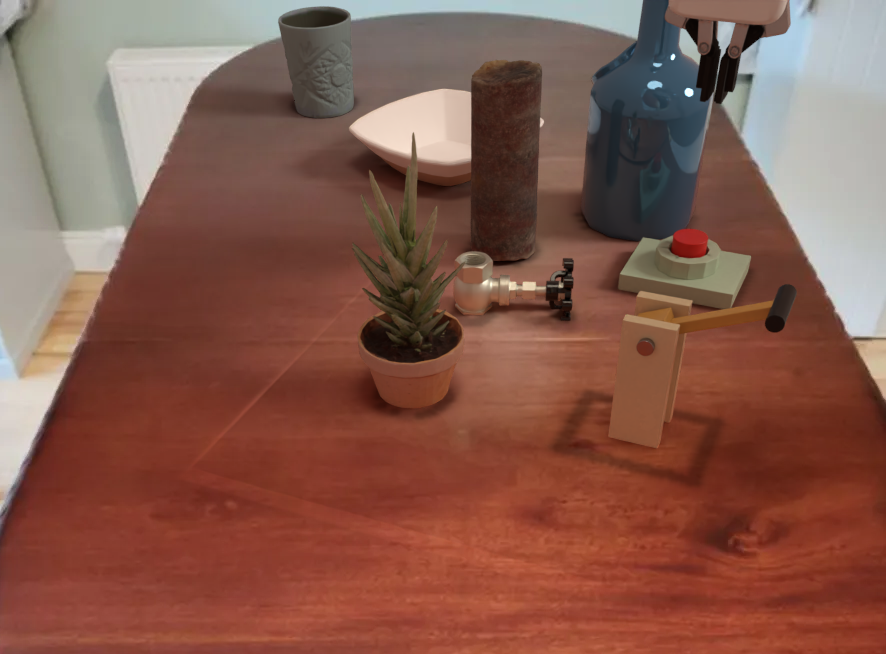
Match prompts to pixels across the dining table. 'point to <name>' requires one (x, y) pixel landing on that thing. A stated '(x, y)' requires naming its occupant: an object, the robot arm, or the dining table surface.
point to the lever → (734, 314)
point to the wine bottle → (645, 136)
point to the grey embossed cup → (319, 60)
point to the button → (689, 243)
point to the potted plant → (407, 306)
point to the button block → (685, 273)
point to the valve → (505, 286)
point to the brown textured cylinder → (505, 158)
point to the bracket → (647, 371)
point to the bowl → (423, 135)
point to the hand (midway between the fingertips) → (713, 97)
